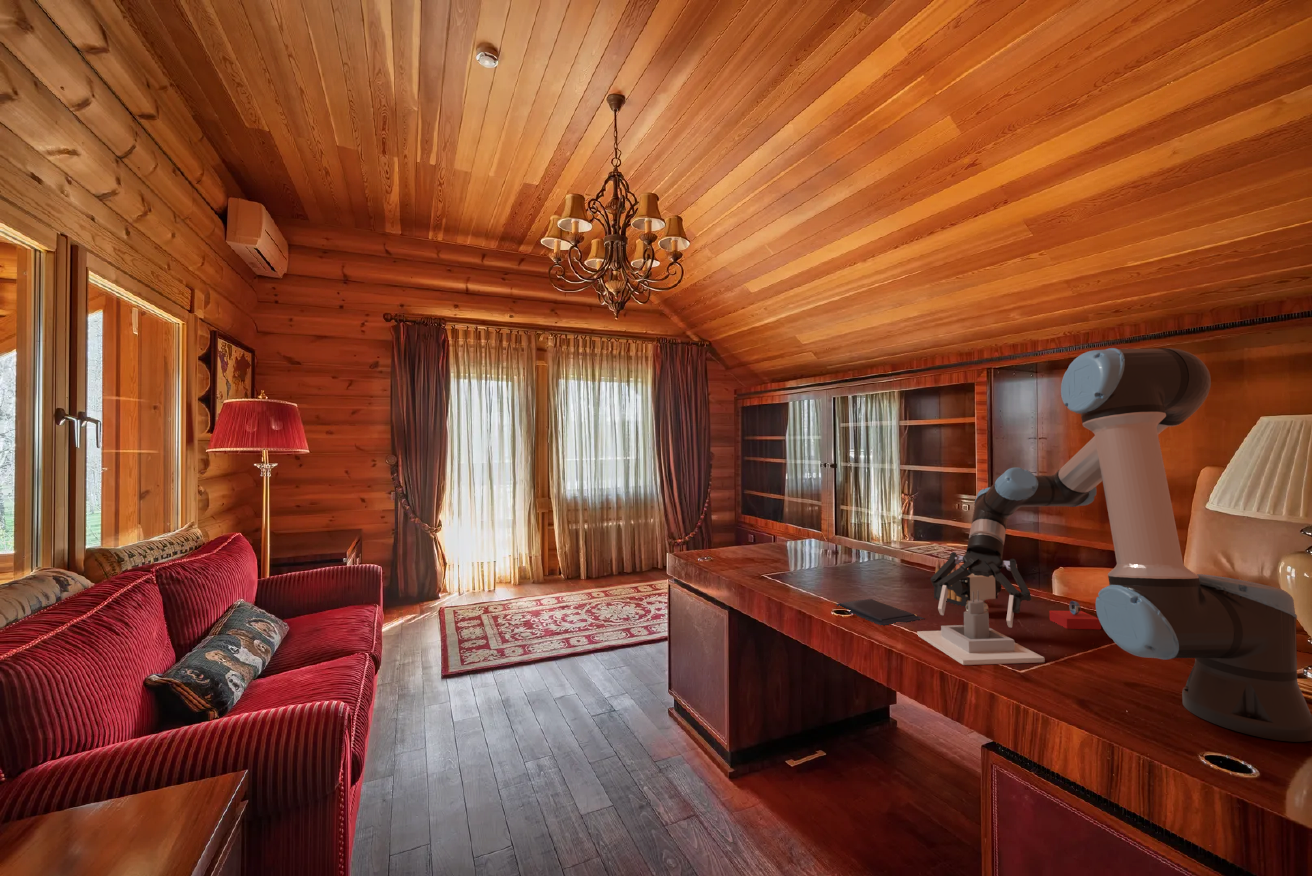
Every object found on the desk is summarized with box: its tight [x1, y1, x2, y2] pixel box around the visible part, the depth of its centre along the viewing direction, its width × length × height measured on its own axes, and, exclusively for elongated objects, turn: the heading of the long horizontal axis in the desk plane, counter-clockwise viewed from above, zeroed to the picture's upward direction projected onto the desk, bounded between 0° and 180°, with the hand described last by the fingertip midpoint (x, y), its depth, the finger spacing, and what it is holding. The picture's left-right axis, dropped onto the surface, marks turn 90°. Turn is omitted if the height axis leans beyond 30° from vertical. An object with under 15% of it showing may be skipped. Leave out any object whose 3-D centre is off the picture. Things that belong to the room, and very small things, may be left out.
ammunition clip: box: [933, 558, 971, 608], centre depth 159 cm, size 11×2×12 cm, turn 24°
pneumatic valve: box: [952, 573, 1002, 612], centre depth 148 cm, size 6×12×12 cm, turn 98°
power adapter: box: [963, 591, 990, 639], centre depth 123 cm, size 3×5×12 cm, turn 117°
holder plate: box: [916, 624, 1046, 666], centre depth 123 cm, size 18×18×4 cm
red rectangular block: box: [1049, 600, 1102, 630], centre depth 138 cm, size 8×7×6 cm
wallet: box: [835, 598, 926, 627], centre depth 150 cm, size 20×2×15 cm
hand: (973, 617), depth 121 cm, fingers open, 13 cm apart
